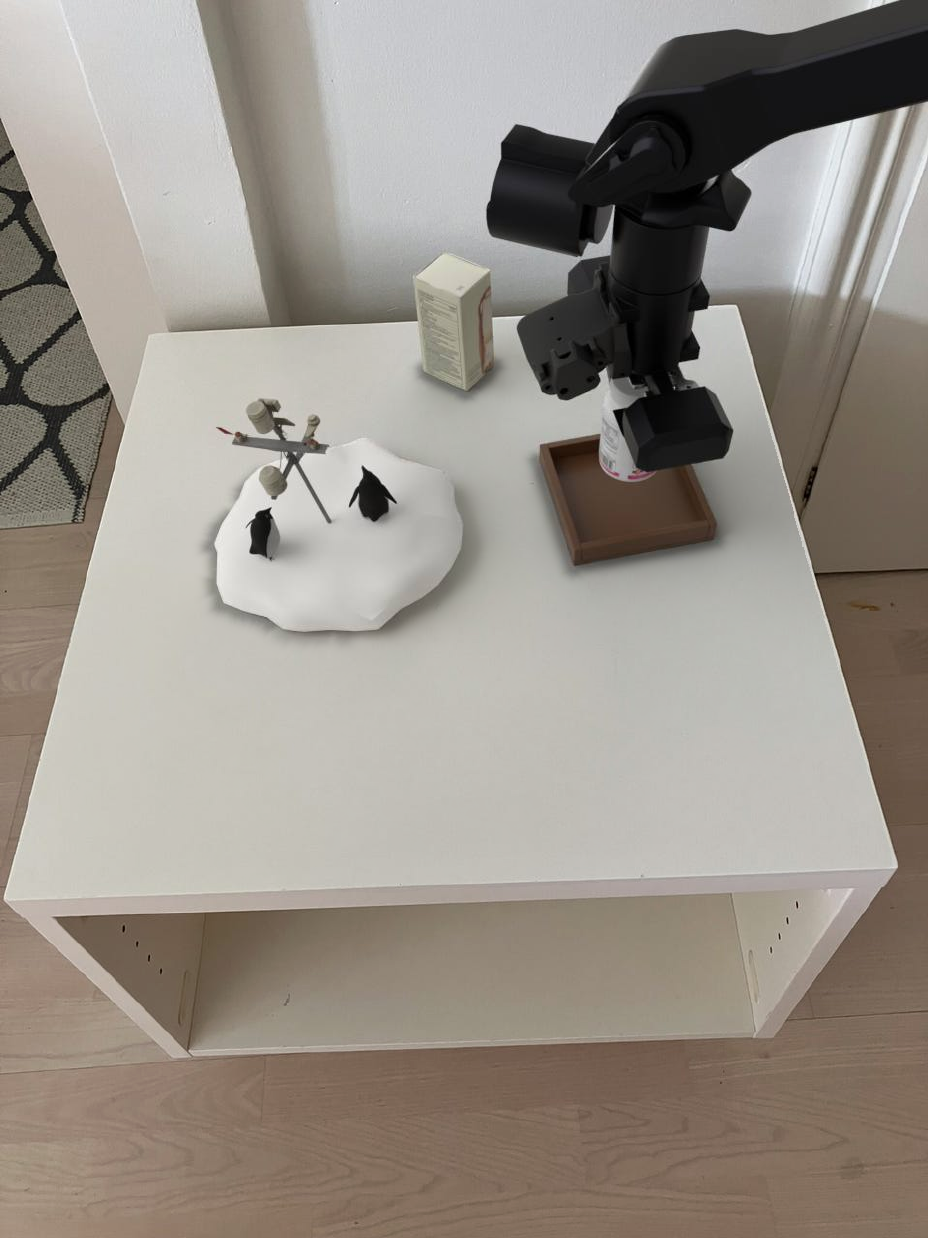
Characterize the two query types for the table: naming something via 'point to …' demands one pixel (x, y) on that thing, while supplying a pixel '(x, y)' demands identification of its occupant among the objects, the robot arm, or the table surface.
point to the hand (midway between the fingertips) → (632, 441)
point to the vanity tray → (621, 504)
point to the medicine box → (455, 319)
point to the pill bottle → (618, 434)
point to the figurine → (333, 531)
